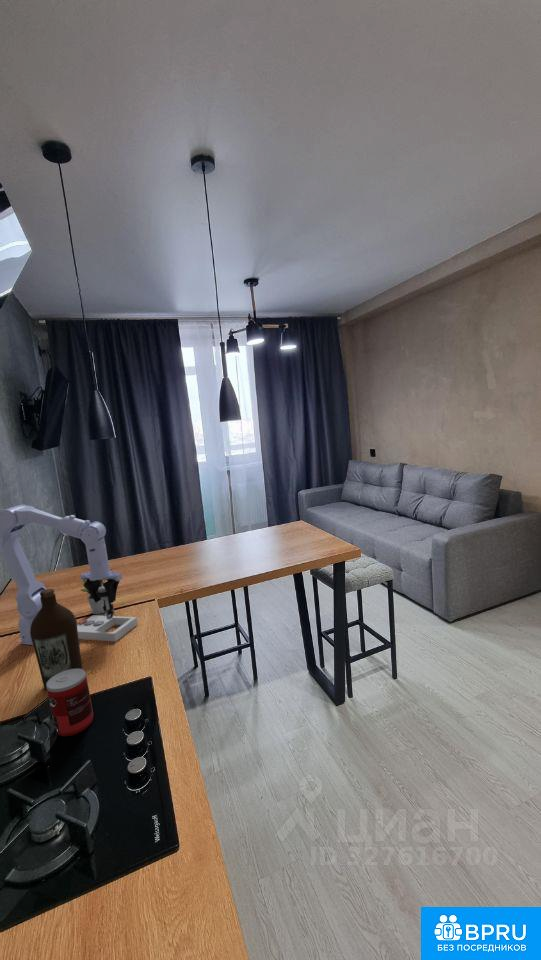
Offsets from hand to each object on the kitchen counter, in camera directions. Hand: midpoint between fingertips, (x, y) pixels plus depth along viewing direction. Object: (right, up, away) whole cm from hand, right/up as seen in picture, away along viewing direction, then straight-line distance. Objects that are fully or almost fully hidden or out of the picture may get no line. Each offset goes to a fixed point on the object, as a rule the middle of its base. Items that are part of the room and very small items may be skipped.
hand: (105, 601), depth 135 cm
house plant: (-8, -9, +19) cm, 23 cm away
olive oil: (-1, -14, -25) cm, 29 cm away
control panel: (-1, -10, +2) cm, 11 cm away
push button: (+1, -5, +1) cm, 6 cm away
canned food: (+10, -15, -43) cm, 46 cm away
